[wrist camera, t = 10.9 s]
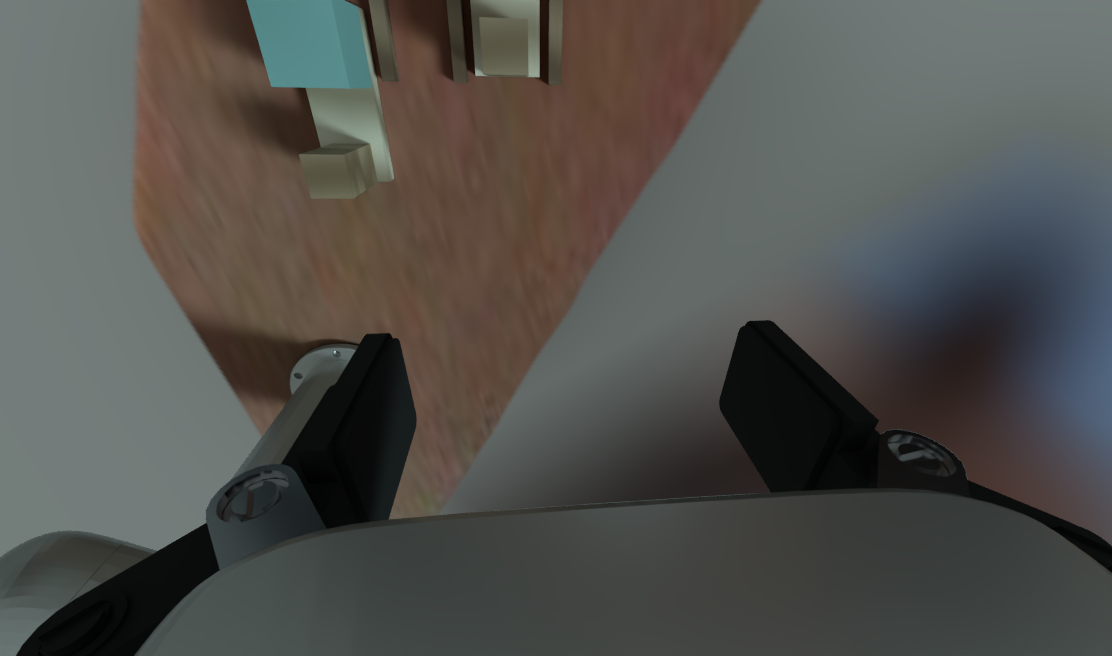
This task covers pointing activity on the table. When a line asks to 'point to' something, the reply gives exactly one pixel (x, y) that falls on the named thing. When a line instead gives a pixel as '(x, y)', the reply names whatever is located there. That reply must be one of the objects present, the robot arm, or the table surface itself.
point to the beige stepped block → (348, 137)
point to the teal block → (311, 43)
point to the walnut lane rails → (460, 40)
